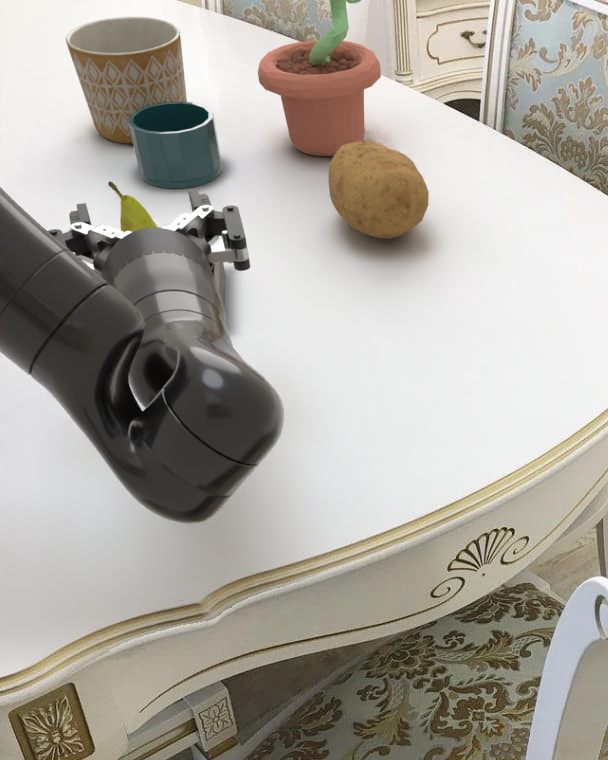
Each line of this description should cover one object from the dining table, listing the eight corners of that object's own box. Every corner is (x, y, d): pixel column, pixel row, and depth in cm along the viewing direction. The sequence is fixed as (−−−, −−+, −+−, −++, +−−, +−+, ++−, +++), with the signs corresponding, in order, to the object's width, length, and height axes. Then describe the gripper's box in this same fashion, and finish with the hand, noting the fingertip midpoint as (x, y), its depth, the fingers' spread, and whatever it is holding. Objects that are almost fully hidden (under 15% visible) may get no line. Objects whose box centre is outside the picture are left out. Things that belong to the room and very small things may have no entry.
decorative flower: (308, 111, 138) (274, -183, 117) (408, 128, 135) (393, -171, 114) (246, 157, 129) (197, -155, 107) (353, 177, 125) (325, -141, 104)
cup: (138, 191, 122) (125, 135, 118) (143, 157, 128) (131, 103, 124) (221, 186, 123) (212, 131, 119) (222, 153, 129) (213, 99, 125)
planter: (71, 125, 134) (46, 31, 127) (164, 100, 140) (146, 9, 133) (120, 159, 128) (97, 62, 120) (216, 131, 134) (200, 37, 126)
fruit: (197, 287, 107) (171, 162, 98) (177, 318, 103) (148, 191, 94) (139, 283, 107) (108, 158, 98) (117, 314, 103) (83, 186, 94)
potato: (391, 193, 123) (386, 119, 117) (451, 246, 114) (449, 169, 109) (309, 212, 119) (301, 136, 113) (365, 268, 111) (359, 189, 105)
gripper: (259, 240, 76) (221, 148, 87) (43, 271, 73) (31, 172, 83) (275, 337, 81) (237, 240, 92) (74, 370, 78) (59, 265, 89)
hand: (139, 207), depth 88 cm, fingers open, 8 cm apart
